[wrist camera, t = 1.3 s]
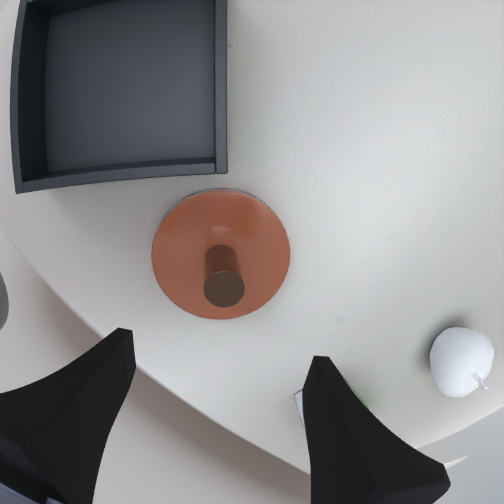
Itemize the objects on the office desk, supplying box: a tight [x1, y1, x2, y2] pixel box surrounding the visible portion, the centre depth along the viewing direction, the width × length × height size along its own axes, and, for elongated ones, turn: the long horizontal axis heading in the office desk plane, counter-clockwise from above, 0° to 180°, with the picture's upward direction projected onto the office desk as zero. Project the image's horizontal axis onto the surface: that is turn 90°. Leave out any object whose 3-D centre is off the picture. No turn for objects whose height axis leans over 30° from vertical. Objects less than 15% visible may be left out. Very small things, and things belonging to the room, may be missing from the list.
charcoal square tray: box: [10, 0, 228, 194], centre depth 14 cm, size 12×12×4 cm
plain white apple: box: [429, 327, 494, 398], centre depth 24 cm, size 7×7×8 cm
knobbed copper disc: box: [151, 189, 290, 319], centre depth 19 cm, size 9×9×5 cm
